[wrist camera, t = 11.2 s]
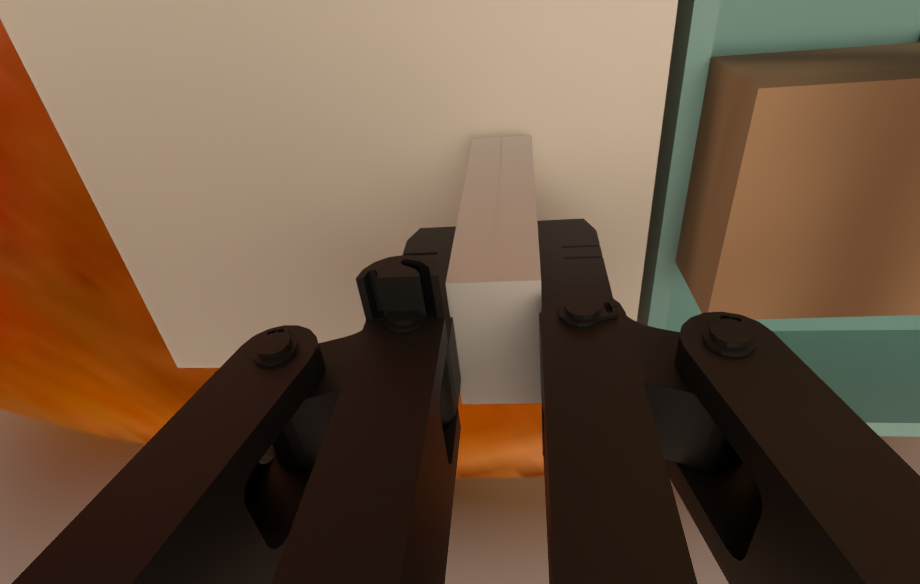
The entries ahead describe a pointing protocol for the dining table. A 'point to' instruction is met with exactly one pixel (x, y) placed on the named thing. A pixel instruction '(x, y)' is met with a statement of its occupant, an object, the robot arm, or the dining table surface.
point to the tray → (663, 287)
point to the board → (336, 138)
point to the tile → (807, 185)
